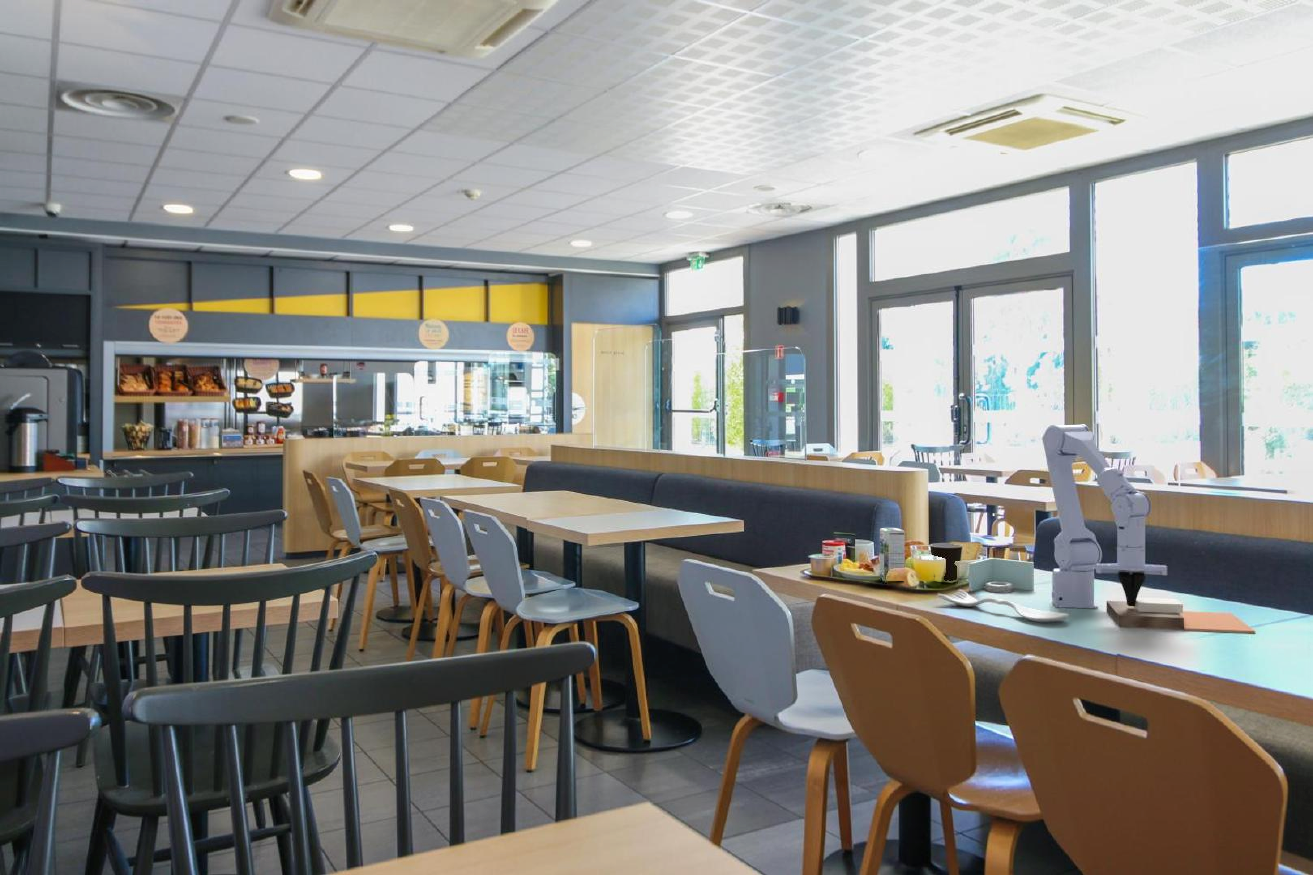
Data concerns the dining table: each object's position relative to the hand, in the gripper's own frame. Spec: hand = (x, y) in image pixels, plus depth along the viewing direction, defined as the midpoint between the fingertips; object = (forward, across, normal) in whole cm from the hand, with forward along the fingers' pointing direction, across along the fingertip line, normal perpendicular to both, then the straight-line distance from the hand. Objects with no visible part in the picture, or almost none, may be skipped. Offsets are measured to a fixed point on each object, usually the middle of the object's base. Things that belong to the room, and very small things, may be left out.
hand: (1130, 605), depth 225 cm
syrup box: (+3, -54, +39) cm, 67 cm away
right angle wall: (+4, -26, +30) cm, 40 cm away
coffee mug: (+3, -40, +42) cm, 58 cm away
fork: (+4, -27, +1) cm, 28 cm away
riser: (+3, +3, 0) cm, 4 cm away
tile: (+1, +6, 0) cm, 6 cm away
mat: (+3, +16, 0) cm, 16 cm away
